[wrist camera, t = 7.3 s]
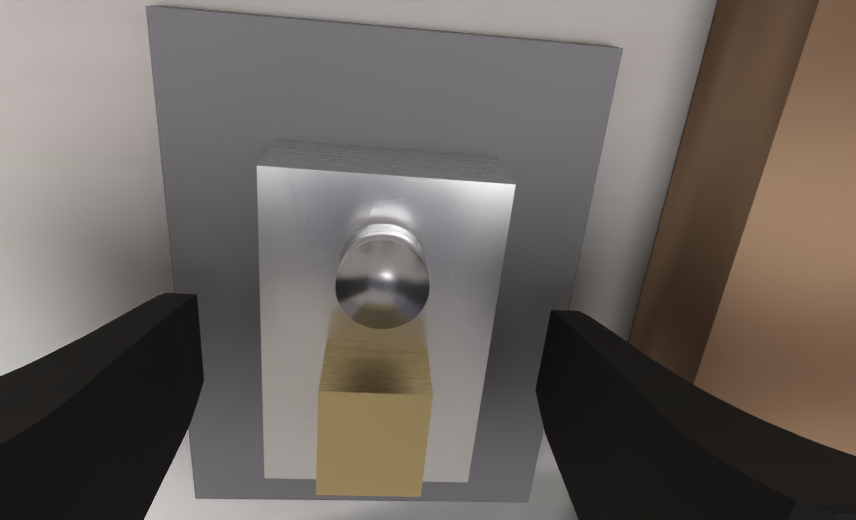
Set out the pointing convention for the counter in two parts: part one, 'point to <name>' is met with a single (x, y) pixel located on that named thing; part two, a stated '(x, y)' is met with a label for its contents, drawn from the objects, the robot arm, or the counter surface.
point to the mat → (375, 127)
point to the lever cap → (376, 311)
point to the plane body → (765, 222)
